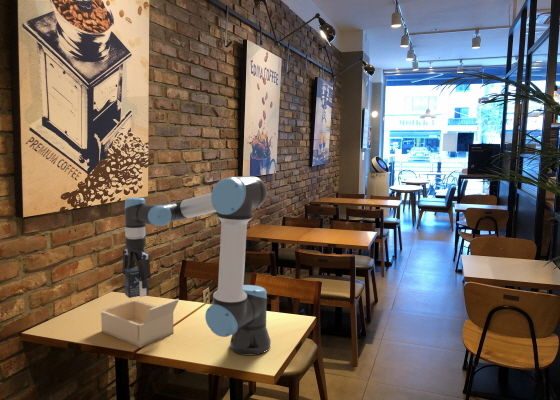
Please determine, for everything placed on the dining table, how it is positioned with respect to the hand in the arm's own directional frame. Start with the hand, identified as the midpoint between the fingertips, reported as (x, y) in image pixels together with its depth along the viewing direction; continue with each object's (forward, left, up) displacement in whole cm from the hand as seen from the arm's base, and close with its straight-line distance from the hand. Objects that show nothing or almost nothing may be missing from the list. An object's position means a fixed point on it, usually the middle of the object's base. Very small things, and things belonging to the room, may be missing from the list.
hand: (136, 294), depth 175 cm
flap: (-13, 0, -7) cm, 14 cm away
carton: (0, 0, -16) cm, 16 cm away
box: (0, 0, -1) cm, 1 cm away
